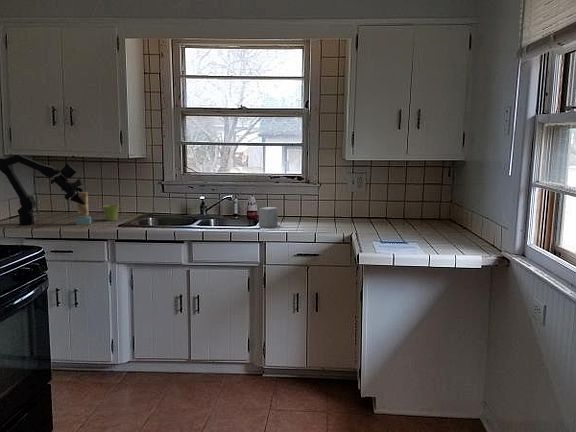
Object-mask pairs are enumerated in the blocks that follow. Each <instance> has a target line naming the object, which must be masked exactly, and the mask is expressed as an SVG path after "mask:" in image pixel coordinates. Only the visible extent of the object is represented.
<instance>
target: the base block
mask: <svg viewBox="0 0 576 432" xmlns="http://www.w3.org/2000/svg"><path fill="white" fill-rule="evenodd" d="M75 219H76V220H75V221H76V223H75V224H76V226H85V225H87V226H90V225H91V224H92V216H90V215H87V216H76V218H75Z"/></svg>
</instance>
